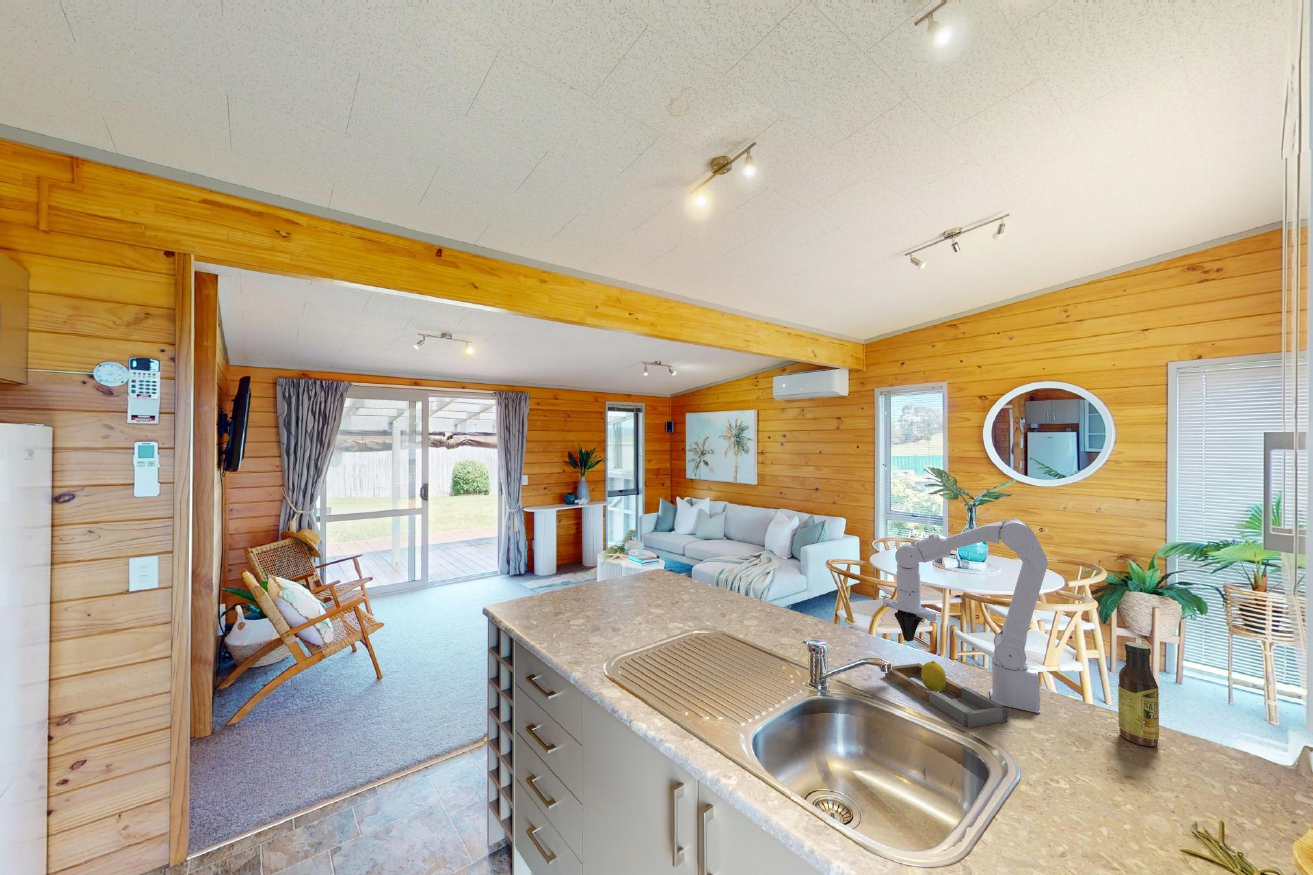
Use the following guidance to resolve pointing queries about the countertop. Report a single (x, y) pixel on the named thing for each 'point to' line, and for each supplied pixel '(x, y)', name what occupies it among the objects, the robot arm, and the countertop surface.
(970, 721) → the tray
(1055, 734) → the countertop surface
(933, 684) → the lemon
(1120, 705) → the sauce bottle
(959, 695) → the slot rails
